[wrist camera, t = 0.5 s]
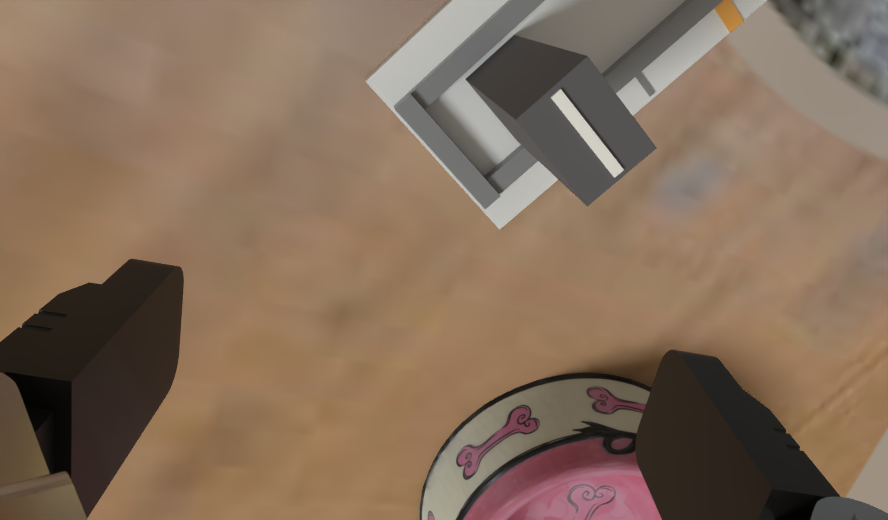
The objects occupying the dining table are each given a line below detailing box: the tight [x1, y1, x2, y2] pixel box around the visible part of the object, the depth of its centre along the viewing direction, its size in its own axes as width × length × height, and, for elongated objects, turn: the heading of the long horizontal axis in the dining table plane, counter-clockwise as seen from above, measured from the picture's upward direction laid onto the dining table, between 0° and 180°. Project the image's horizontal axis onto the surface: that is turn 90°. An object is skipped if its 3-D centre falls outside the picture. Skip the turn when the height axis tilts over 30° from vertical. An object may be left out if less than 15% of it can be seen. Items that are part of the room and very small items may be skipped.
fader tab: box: [465, 35, 656, 206], centre depth 28 cm, size 3×4×11 cm
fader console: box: [365, 0, 767, 229], centre depth 33 cm, size 22×10×2 cm, turn 131°
